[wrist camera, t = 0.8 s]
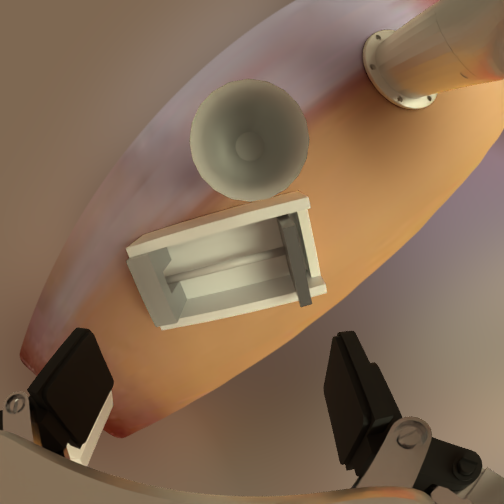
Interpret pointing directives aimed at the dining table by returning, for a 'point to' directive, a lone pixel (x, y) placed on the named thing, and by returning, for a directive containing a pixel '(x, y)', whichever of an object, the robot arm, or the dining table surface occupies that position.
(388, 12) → the dining table surface
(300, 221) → the grey bracket
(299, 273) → the pusher
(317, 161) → the dining table surface
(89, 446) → the milk
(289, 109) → the chalice
